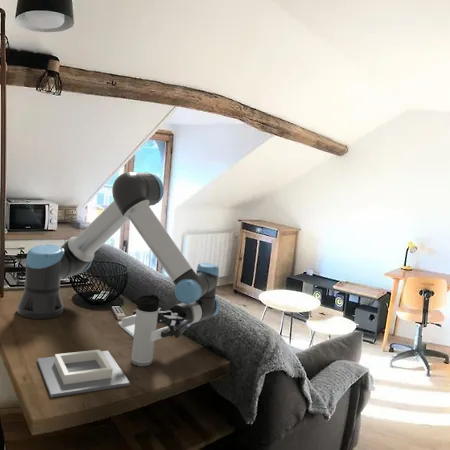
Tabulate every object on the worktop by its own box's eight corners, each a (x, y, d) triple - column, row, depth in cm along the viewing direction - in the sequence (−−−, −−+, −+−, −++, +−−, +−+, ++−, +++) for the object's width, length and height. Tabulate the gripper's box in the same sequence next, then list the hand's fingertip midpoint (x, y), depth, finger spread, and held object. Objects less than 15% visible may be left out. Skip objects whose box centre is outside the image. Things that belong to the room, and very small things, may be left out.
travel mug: (156, 361, 136) (164, 297, 134) (144, 368, 130) (151, 302, 128) (139, 354, 139) (147, 292, 136) (126, 362, 133) (133, 297, 130)
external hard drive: (133, 339, 151) (117, 325, 161) (154, 336, 156) (138, 322, 166) (133, 334, 151) (118, 321, 160) (155, 331, 156) (139, 318, 165)
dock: (37, 361, 126) (38, 349, 126) (107, 353, 137) (108, 342, 137) (50, 397, 110) (51, 384, 109) (129, 385, 120) (131, 373, 120)
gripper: (212, 336, 142) (165, 356, 124) (157, 314, 155) (107, 328, 137) (215, 314, 141) (168, 330, 123) (159, 293, 154) (110, 305, 136)
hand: (136, 329), depth 130 cm, fingers open, 11 cm apart
